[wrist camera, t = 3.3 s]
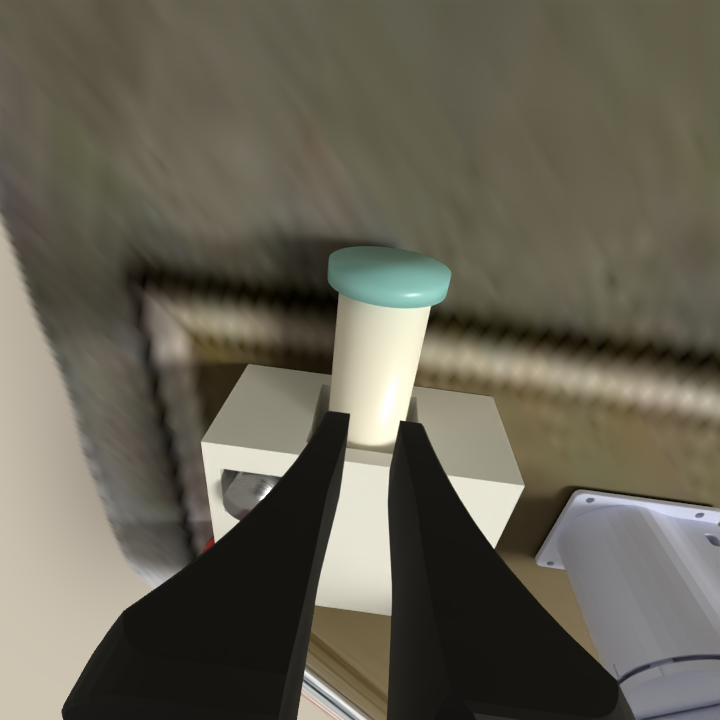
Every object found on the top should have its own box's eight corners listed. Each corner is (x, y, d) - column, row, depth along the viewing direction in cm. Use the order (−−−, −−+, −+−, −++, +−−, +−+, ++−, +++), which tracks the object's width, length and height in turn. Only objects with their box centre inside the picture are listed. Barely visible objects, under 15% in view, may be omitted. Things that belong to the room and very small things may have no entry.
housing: (492, 396, 22) (524, 485, 17) (445, 528, 28) (457, 625, 23) (248, 363, 22) (200, 441, 17) (255, 502, 28) (221, 591, 23)
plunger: (295, 431, 21) (275, 492, 17) (294, 463, 22) (275, 526, 18) (250, 425, 21) (221, 485, 17) (251, 458, 22) (225, 520, 18)
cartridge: (444, 254, 17) (459, 294, 13) (388, 503, 26) (387, 573, 22) (337, 240, 17) (319, 276, 13) (317, 493, 26) (303, 561, 22)
